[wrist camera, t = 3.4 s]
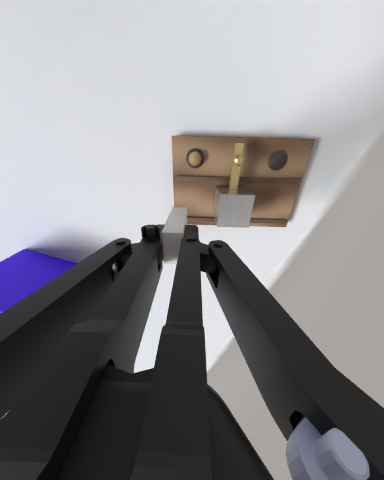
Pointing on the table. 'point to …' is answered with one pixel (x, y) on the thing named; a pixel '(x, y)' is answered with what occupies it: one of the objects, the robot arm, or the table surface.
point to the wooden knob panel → (251, 175)
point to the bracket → (27, 275)
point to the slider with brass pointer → (233, 196)
